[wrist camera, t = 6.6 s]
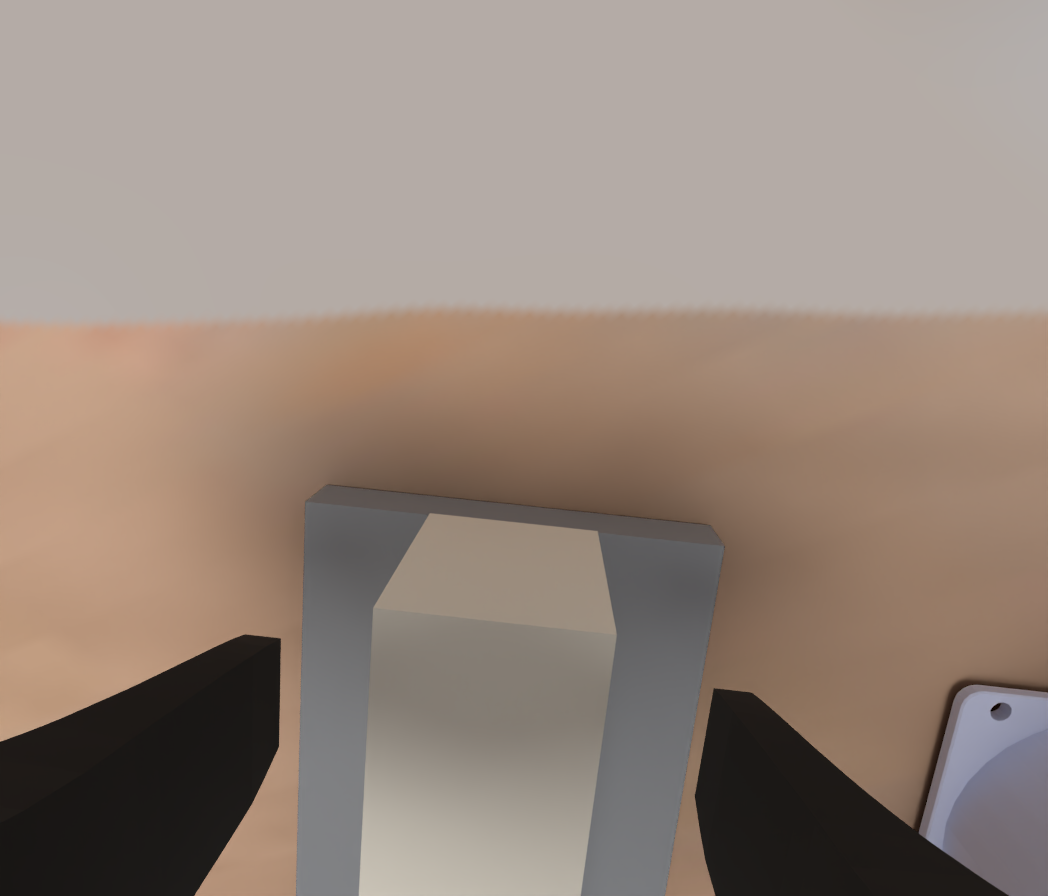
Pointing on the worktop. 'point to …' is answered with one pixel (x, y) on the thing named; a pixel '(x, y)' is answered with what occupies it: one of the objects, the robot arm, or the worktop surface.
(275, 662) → the robot arm
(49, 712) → the worktop surface
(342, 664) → the grey deck
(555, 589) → the cream block
